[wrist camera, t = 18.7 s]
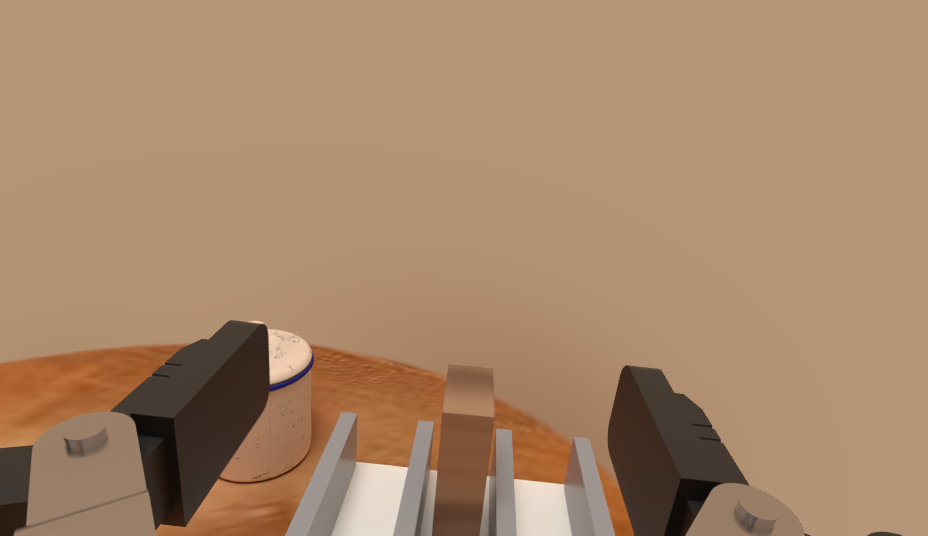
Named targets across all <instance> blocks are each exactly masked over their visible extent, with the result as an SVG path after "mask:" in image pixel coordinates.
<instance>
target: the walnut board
mask: <svg viewBox="0 0 928 536" xmlns="http://www.w3.org/2000/svg"><path fill="white" fill-rule="evenodd" d="M493 425H494V387H493V369H492V368H481V367H470V366H459V365H448V373H447V381H446V389H445V397H444V405H443V413H442V424H441V435H440V447H439V458H438V470H437V481H436V493H435V504H434V515H433V527H432V536H480V528H481V520H482V512H483V504H484V496H485V488H486V481H487V473H488V465H489V457H490V449H491V441H492V433H493Z"/></svg>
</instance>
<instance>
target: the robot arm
mask: <svg viewBox="0 0 928 536" xmlns="http://www.w3.org/2000/svg"><path fill="white" fill-rule="evenodd" d="M269 391H270V368H269V336H268V329H267V327H266V325H265V324H260V323H251V322H242V321H233V320H230V321H228V322H227V323H226V324H225V325H224V326H223V327H222V328H220V330H218V331H217V332H216V333H215V334H214V335H213V336H212V337H211V338H210V339H209V340H206V339H201V340H199V341H197V342H195V343H193V344H191V345H188V346H186V347H184V348H182V349H180V350H179V351H178V352H177V353H175V354H174V355H173V356H172V357H171V358H170V359H169V360H167V361H166V362H165V365H164V366H163V365H162V366H161V367H160V368H158V369H157V370H156V371H155V372H154V373H153V374H152V377H148V378H147V379H146V380H145V381H144V382H143V383H142V384H140V385H139V386H138V387H137V388H136V389H135V390H134V391H132V392H131V393H130V394H129V395H128V396H127V397H126V398H125V399H123V400H122V401H121V402H120V403H119V404H118V405H117V406H116V407H114V408H113V409H112V410H111V411H110V412H94V413H88V414H83V415H80V416H76V417H73V418H70V419H67V420H65V421H63V422H61V423H59V424H57V425H55V426H53V427H51V428H50V429H48V430H47V431H46V432H44V433H43V434H42V435H41V436H40V437H39V438H38V439H37V440H36V442H35V444H34V445H30V446H20V447H10V448H0V536H156V529H157V528H158V527H159V525H160V524H164V525H172V526H181V527H186V525H187V524H188V522H189V521H190V519H191V518H192V516H193V515H194V513H195V512H196V510H197V509H198V508H199V506H200V505H201V503H202V502H203V500H204V499H205V497H206V496H207V494H208V493H209V491H210V490H211V488H212V487H213V485H214V484H215V482H216V481H217V479H218V478H219V476H220V475H221V473H222V472H223V471H224V469H225V468H226V466H227V465H228V463H229V462H230V460H231V459H232V457H233V456H234V454H235V453H236V451H237V450H238V448H239V447H240V445H241V444H242V442H243V441H244V439H245V438H246V436H247V435H248V434H249V432H250V431H251V429H252V428H253V426H254V425H255V423H256V422H257V420H258V419H259V417H260V416H261V414H262V413H263V411H264V409H265V407H266V404H267V401H268V396H269ZM608 448H609V454H610V457H611V460H612V464H613V467H614V470H615V473H616V476H617V480H618V483H619V486H620V489H621V493H622V496H623V499H624V502H625V506H626V509H627V512H628V515H629V519H630V522H631V525H632V528H633V532H634V535H635V536H810V535H807V534H805V533H804V529H803V527H802V524H801V523H800V521H799V519H798V518H797V517H796V515H794V513H793V512H792V511H791V510H790V509H789V508H788V507H786V506H785V505H784V504H783V503H782V502H780V501H779V500H778V499H776V498H775V497H773V496H771V495H769V494H767V493H766V492H764V491H762V490H759V489H757V488H754V487H751V486H749V484H748V482H747V481H746V479H745V478H744V476H743V474H742V473H741V471H740V470H739V468H738V466H737V465H736V463H735V462H734V460H733V458H732V457H731V455H730V454H729V452H728V450H727V449H726V447H725V446H724V444H723V443H721V439H720V437H719V436H718V434H717V433H716V431H715V430H714V429H712V425H711V423H710V422H709V420H708V418H707V417H706V415H705V413H704V412H703V410H702V409H701V408H700V407H698V406H697V405H696V404H695V403H693V402H692V401H691V400H690V399H689V398H687V397H686V396H685V395H684V394H677V393H674V392H673V390H672V388H671V386H670V385H669V383H668V381H667V379H666V378H665V376H664V374H663V372H662V371H661V370H660V369H654V368H644V367H636V366H627V365H626V366H625V367H624V368H623V369H622V371H621V374H620V378H619V383H618V387H617V391H616V396H615V400H614V404H613V409H612V413H611V418H610V422H609V427H608ZM868 536H902V535H899V534H894V533H889V532H875V533H871V534H869V535H868Z"/></svg>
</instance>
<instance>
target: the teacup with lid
mask: <svg viewBox="0 0 928 536" xmlns="http://www.w3.org/2000/svg"><path fill="white" fill-rule="evenodd" d="M250 322H251V323H260V324H264V323H262V322H260V321H250ZM268 336H269V368H270V391H269V396H268V401H267V404H266V407H265V409H264V411H263V413H262V414H261V416H260V417H259V419H258V420H257V422H256V423H255V425H254V426H253V428H252V429H251V431H250V432H249V434H248V435H247V436H246V438H245V439H244V441H243V442H242V444H241V445H240V447H239V448H238V450H237V451H236V453H235V454H234V456H233V457H232V459H231V460H230V462H229V463H228V465H227V466H226V468H225V469H224V471H223V472H222V473H221V475H220V476H219V477H221V478H223V479H226V480H230V481H236V482H254V481H261V480H266V479H269V478H273V477H276V476H278V475H281V474H283V473H285V472H287V471H288V470H290V469H292V468H293V467H295V466H296V465H297V464H298V463H299V462H300V461H301V460H302V459H303V458H304V457H305V456H306V454H307V452H308V450H309V448H310V445H311V367H312V365H313V362H314V356H313V353H312V351H311V348H310V346H309V345H308V344H307V342H306V341H304V340H303V339H302V338H300V337H299V336H297V335H294V334H292V333H289V332H285V331H280V330H272V329H268Z"/></svg>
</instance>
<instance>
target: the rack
mask: <svg viewBox="0 0 928 536" xmlns="http://www.w3.org/2000/svg"><path fill="white" fill-rule="evenodd" d="M433 430H434V422H430V421H421V420H419V421H418V426H417V430H416V435H415V439H414V444H413V448H412V453H411V457H410V462H409V466H408V468H407V467H398V466H389V465H380V464H371V463H361V462H356V444H357V414H356V413H346V412H342V413H341V415H340V417H339V420H338V422H337V424H336V426H335V428H334V430H333V433H332V435H331V437H330V439H329V441H328V443H327V446H326V448H325V450H324V452H323V454H322V457H321V459H320V461H319V463H318V465H317V467H316V470H315V472H314V474H313V476H312V478H311V480H310V483H309V485H308V487H307V489H306V491H305V493H304V496H303V498H302V500H301V502H300V504H299V507H298V509H297V511H296V513H295V515H294V517H293V520H292V522H291V524H290V526H289V528H288V530H287V533H286V535H285V536H432V527H433V515H434V504H435V493H436V481H437V471H435V470H430V466H431V454H432V442H433ZM480 536H615V533H614V529H613V526H612V522H611V518H610V514H609V511H608V507H607V503H606V499H605V496H604V492H603V488H602V484H601V481H600V477H599V473H598V469H597V466H596V462H595V458H594V454H593V451H592V447H591V443H590V440H589V439H588V438H580V437H574V438H573V443H572V448H571V454H570V459H569V464H568V470H567V475H566V480H565V485H563V484H554V483H545V482H536V481H527V480H517V479H514V471H513V451H512V431H511V430H505V429H496V432H495V440H494V448H493V455H492V463H491V471H490V476H487V481H486V488H485V496H484V504H483V512H482V520H481V528H480Z"/></svg>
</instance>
